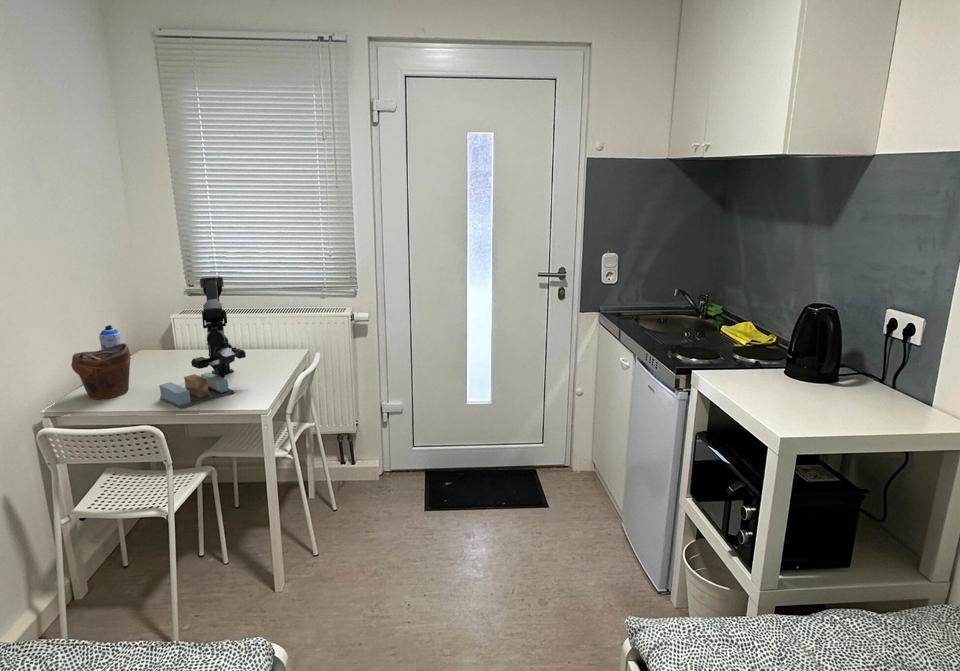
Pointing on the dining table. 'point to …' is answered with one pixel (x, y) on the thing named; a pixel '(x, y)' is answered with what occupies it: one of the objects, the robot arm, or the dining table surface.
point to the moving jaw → (216, 382)
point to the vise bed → (201, 398)
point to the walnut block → (196, 385)
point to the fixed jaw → (175, 393)
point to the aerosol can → (109, 337)
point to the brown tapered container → (104, 371)
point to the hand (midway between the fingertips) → (221, 379)
